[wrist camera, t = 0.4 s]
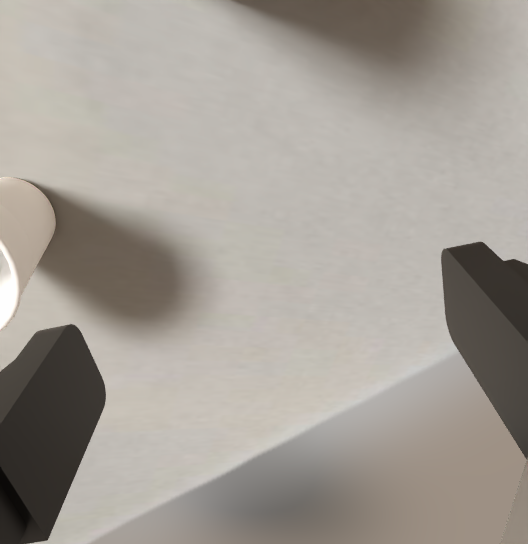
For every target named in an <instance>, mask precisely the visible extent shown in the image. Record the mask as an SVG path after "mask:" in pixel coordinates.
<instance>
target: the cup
mask: <svg viewBox="0 0 528 544" xmlns="http://www.w3.org/2000/svg"><path fill="white" fill-rule="evenodd" d="M55 226H56V218H55V214H54V210H53V208H52V206H51V203H50V202H49V200H48V199H47V197H46V196H45V195H44V194H43V193H42V192H41V191H40V190H39V189H38V188H36V187H35V186H34V185H32V184H30V183H28V182H26V181H24V180H21V179H18V178H12V177H0V331H1V330H3V329H4V328H5V327H6V326H7V325H8V324H9V322H10V321H11V320H12V319H13V317H14V316H15V314H16V311H17V309H18V307H19V304H20V298H21V295H22V293H23V291H24V289H25V287H26V286H27V284H28V281H29V280H30V277H31V276H32V274H33V272H34V270H35V268H36V266H37V265H38V263H39V261H40V259H41V257H42V255H43V253H44V251H45V250H46V248H47V246H48V244H49V242H50V240H51V239H52V236H53V234H54V232H55Z"/></svg>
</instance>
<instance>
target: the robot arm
mask: <svg viewBox="0 0 528 544" xmlns="http://www.w3.org/2000/svg"><path fill="white" fill-rule="evenodd" d="M441 263H442V276H443V290H444V303H445V315H446V321H447V326H448V329H449V333H450V335H451V338H452V340H453V342H454V344H455V346H456V347H457V349H458V350H459V352H460V354H461V355H462V357H463V358H464V360H465V362H466V363H467V365H468V366H469V368H470V369H471V371H472V372H473V374H474V376H475V378H476V379H477V381H478V382H479V384H480V386H481V387H482V389H483V390H484V392H485V394H486V395H487V397H488V398H489V400H490V402H491V403H492V405H493V406H494V408H495V410H496V411H497V413H498V414H499V416H500V418H501V419H502V421H503V422H504V424H505V426H506V427H507V429H508V430H509V432H510V434H511V435H512V437H513V438H514V440H515V441H516V443H517V445H518V446H519V448H520V450H521V451H522V453H523V454H524V456H525V457H526V459H527V461H526V465H525V467H524V471H523V474H522V477H521V480H520V483H519V486H518V489H517V493H516V496H515V499H514V502H513V505H512V508H511V511H510V515H509V518H508V521H507V524H506V527H505V530H504V534H503V537H502V540H501V543H500V544H528V264H526V263H523V262H520V261H518V260H515V259H512V260H507V261H503V260H502V259H501V258H499V257H498V256H497V255H496V254H495V253H494V252H493V251H492V250H491V249H490V248H489V247H488V246H487V245H486V244H484V243H483V242H476V243H471V244H466V245H461V246H456V247H451V248H447V249H444V250H443V251H442V256H441ZM105 400H106V392H105V385H104V381H103V379H102V376H101V374H100V372H99V370H98V368H97V366H96V363H95V361H94V359H93V357H92V355H91V353H90V350H89V348H88V346H87V344H86V342H85V340H84V338H83V335H82V333H81V332H80V330H79V329H78V328H77V327H76V326H75V325H72V324H70V325H65V326H60V327H55V328H50V329H45V330H41V331H38V332H36V333H35V334H34V336H33V337H32V338H31V339H30V341H29V342H28V343H27V345H26V346H25V347H24V349H23V350H22V351H21V353H20V354H19V355H18V357H17V358H16V359H15V360H14V361H13V362H12V363H10V364H9V365H8V366H7V367H6V368H4V369H3V370H2V371H1V372H0V544H28V543H34V542H40V541H46V540H48V538H49V536H50V534H51V531H52V529H53V526H54V524H55V522H56V519H57V517H58V515H59V512H60V510H61V508H62V505H63V503H64V500H65V498H66V496H67V493H68V491H69V489H70V486H71V484H72V482H73V479H74V477H75V475H76V472H77V470H78V467H79V465H80V463H81V460H82V458H83V456H84V453H85V451H86V449H87V446H88V444H89V442H90V439H91V437H92V434H93V432H94V430H95V427H96V425H97V423H98V420H99V418H100V416H101V413H102V411H103V408H104V405H105Z"/></svg>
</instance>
